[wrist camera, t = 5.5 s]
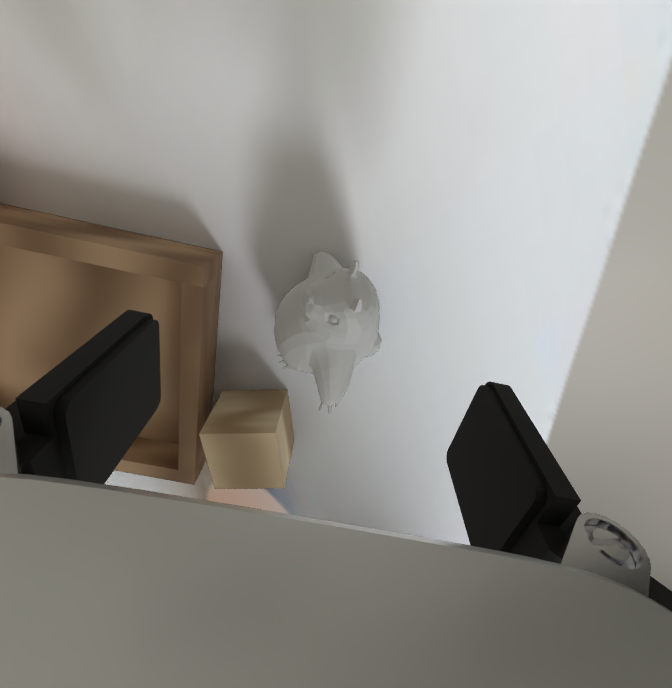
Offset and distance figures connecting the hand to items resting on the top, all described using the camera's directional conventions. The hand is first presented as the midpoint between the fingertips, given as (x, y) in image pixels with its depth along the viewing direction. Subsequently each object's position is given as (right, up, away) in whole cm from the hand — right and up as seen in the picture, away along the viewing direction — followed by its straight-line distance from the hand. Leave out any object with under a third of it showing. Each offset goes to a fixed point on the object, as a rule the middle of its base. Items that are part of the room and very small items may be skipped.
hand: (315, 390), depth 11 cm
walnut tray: (-13, +1, +11) cm, 17 cm away
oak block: (-4, -3, +13) cm, 14 cm away
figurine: (+1, +4, +9) cm, 10 cm away
